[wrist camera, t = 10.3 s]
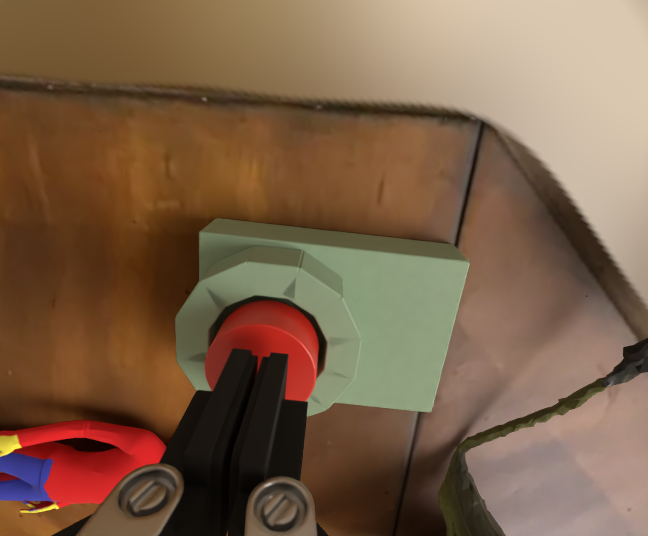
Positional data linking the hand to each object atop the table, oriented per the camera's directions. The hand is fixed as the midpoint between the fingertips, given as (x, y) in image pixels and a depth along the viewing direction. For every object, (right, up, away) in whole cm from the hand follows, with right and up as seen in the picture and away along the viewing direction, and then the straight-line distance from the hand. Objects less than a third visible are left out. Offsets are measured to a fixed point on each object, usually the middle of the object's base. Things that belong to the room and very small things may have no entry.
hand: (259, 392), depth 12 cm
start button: (0, +1, +2) cm, 2 cm away
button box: (+2, +2, +6) cm, 6 cm away
